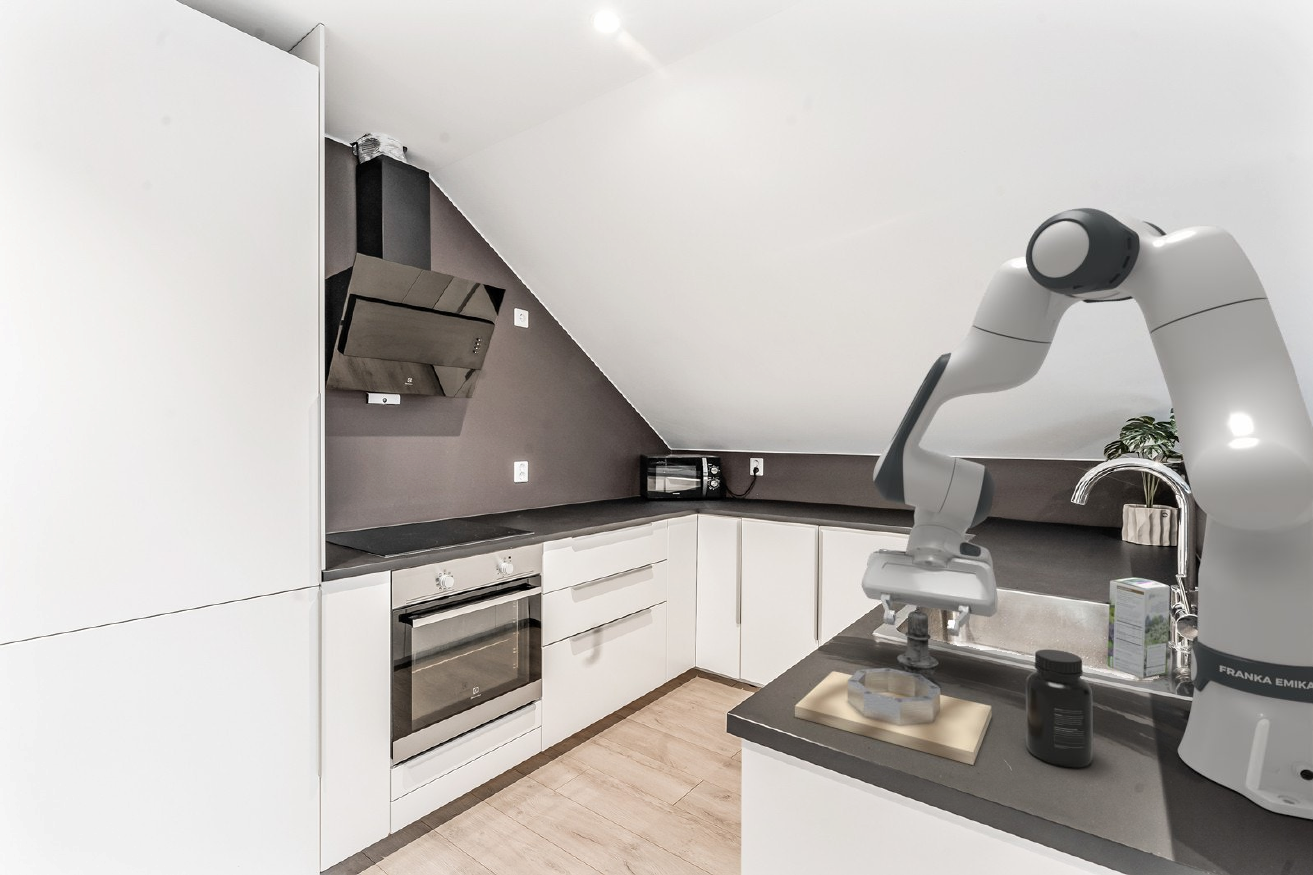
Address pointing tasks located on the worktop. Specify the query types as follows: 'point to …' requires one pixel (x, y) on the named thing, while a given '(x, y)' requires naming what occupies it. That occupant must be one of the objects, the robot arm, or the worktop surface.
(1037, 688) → the supplement bottle
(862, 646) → the worktop surface
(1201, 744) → the robot arm
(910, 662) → the dark grey turned piece
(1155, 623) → the syrup box
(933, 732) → the carrier plate
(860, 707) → the metal collar
